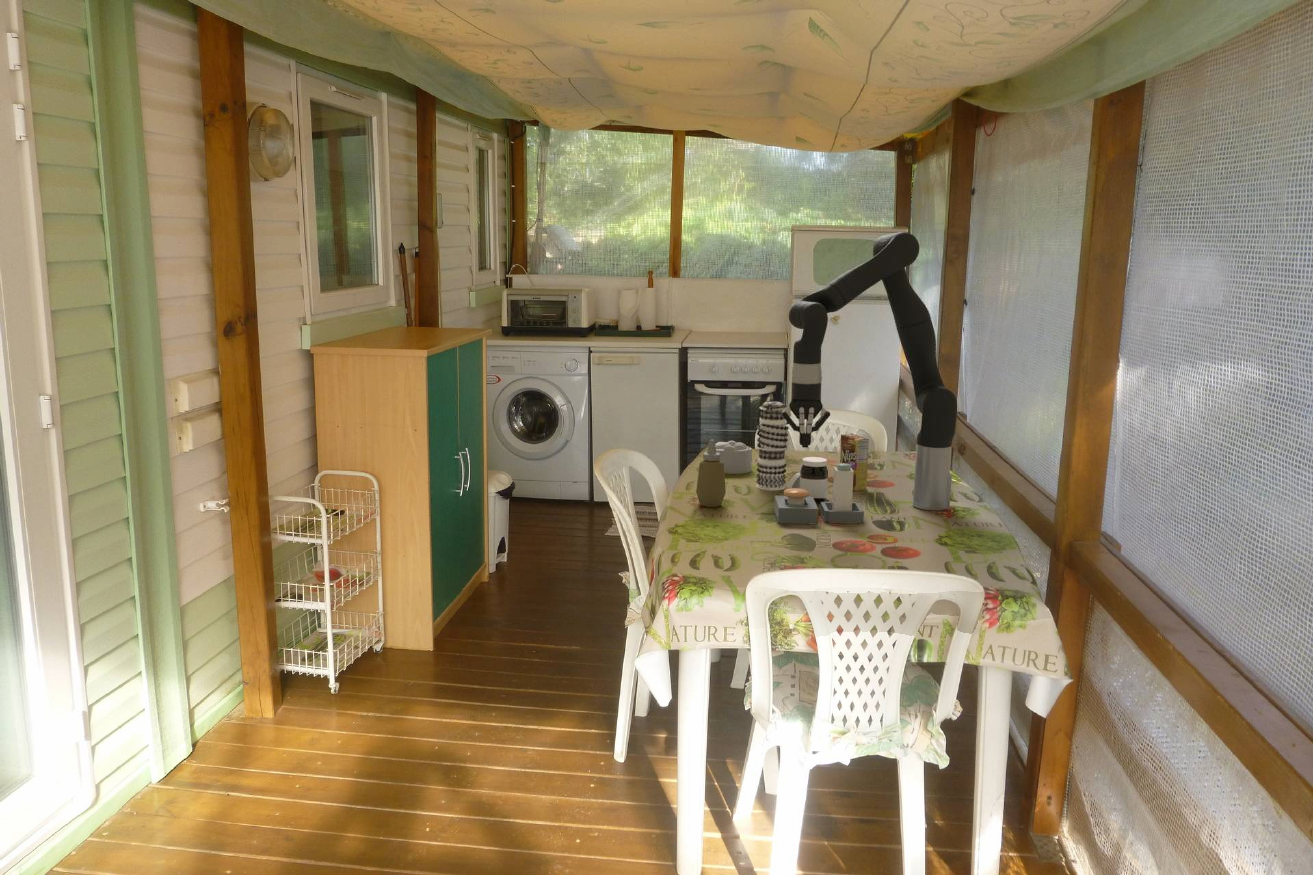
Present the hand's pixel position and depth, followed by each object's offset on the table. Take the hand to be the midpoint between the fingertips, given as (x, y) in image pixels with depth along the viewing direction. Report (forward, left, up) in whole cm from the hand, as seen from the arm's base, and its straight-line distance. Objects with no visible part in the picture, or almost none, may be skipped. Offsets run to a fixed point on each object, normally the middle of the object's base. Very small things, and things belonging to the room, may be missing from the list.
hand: (804, 446), depth 268 cm
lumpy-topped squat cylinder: (+17, -54, -19) cm, 60 cm away
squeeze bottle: (+24, -10, -19) cm, 32 cm away
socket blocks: (-4, 0, -19) cm, 19 cm away
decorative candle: (+6, -32, -19) cm, 38 cm away
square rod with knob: (-10, 0, -19) cm, 21 cm away
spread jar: (-3, -19, -19) cm, 27 cm away
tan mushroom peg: (+2, 0, -18) cm, 18 cm away
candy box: (-18, -34, -19) cm, 43 cm away
